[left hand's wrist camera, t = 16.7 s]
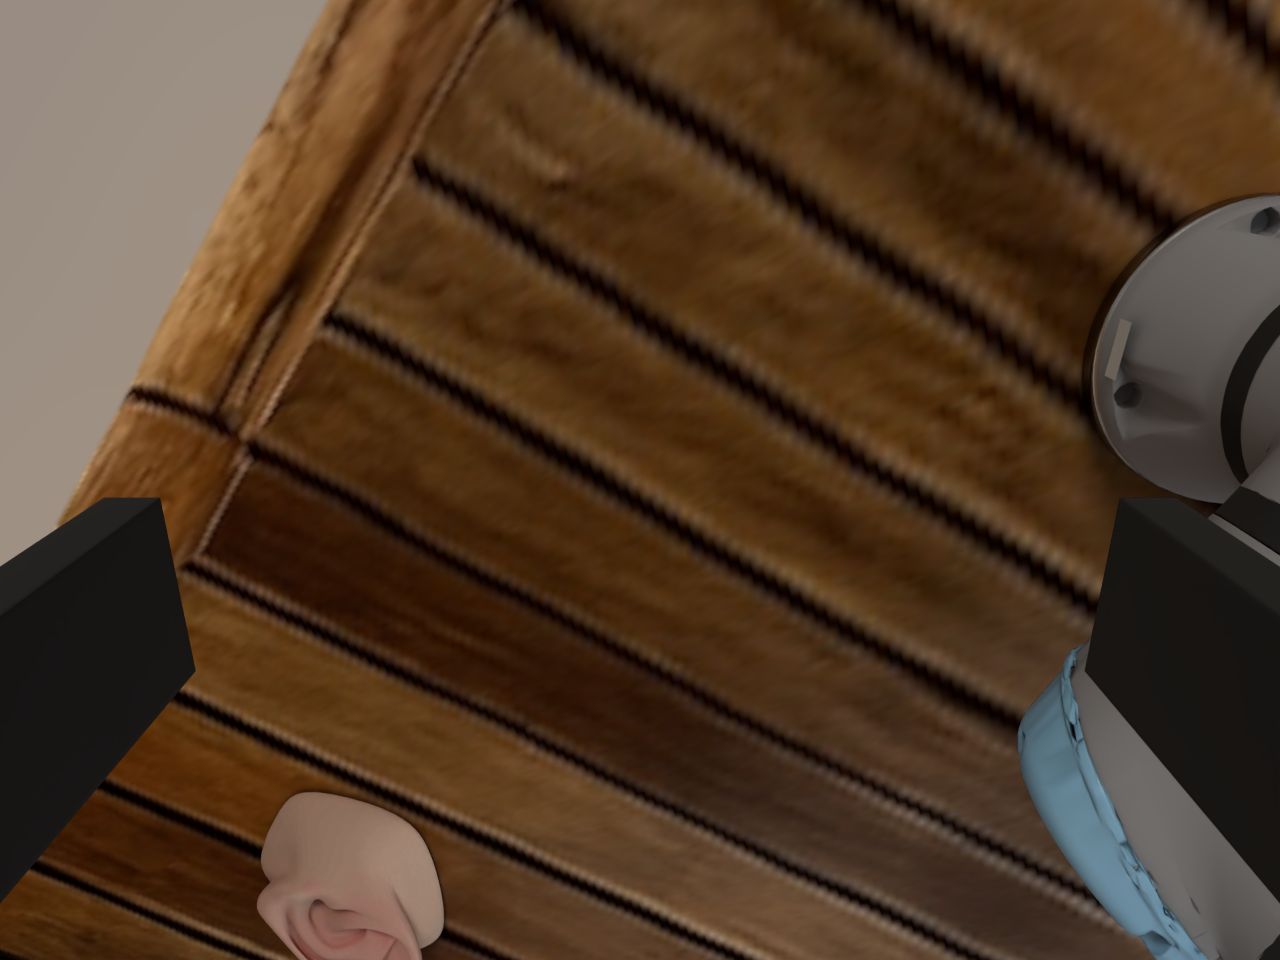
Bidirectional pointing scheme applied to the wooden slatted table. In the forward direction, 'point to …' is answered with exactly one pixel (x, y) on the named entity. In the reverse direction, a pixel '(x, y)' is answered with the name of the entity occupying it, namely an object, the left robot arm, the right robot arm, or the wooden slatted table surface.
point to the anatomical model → (348, 881)
